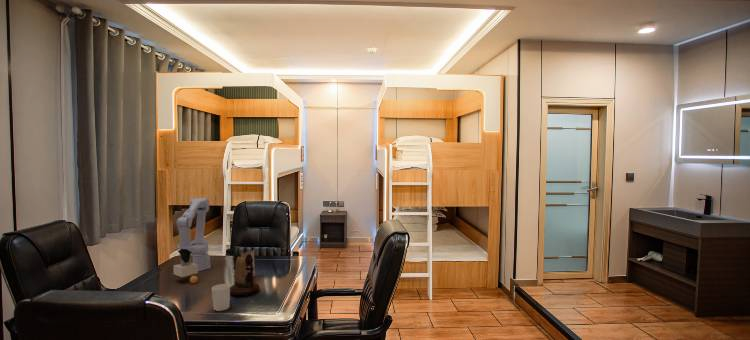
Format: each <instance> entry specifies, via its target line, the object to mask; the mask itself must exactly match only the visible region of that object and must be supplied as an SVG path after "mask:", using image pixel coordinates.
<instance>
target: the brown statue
mask: <svg viewBox="0 0 750 340" xmlns="http://www.w3.org/2000/svg"><path fill="white" fill-rule="evenodd" d="M241 254H242V253H240V252H239V253H236V254H235V255H234V257H233V263H234V264H233V267H232V268H233V269H232V270H234V275H233V278H234V281H233V282H234V284H233V285H230V296H231V295H234V296H238V295H239V296H241V295H242V296H243V295H245V297H246V298H247V297H248V295H249V294H253V293H255V292H257V291H259V290H260V285H259V283H257V282H254V279H255V278H254V277H255V276H254V277H253V270H254V268H253V264H252V263H253V262H252V261H253V259H252V256H251V254H248V255H247V256H246V257H241ZM249 266H250V268H249ZM246 267H248V268H246ZM246 270H249V271H250V272H249V273H248V274H247V276H245V271H246Z"/></svg>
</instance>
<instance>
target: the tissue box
mask: <svg viewBox="0 0 750 340" xmlns="http://www.w3.org/2000/svg"><path fill="white" fill-rule="evenodd" d="M198 273H199V271H198V264H195V263H193V262H191V258H189V262H187V263H184V260H182V259H181V260H180V263H179V264H174V265H173V275H176V276H178V277H180V278H185V277H187V276H191V275H192V276H193V275H195V274H198Z"/></svg>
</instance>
